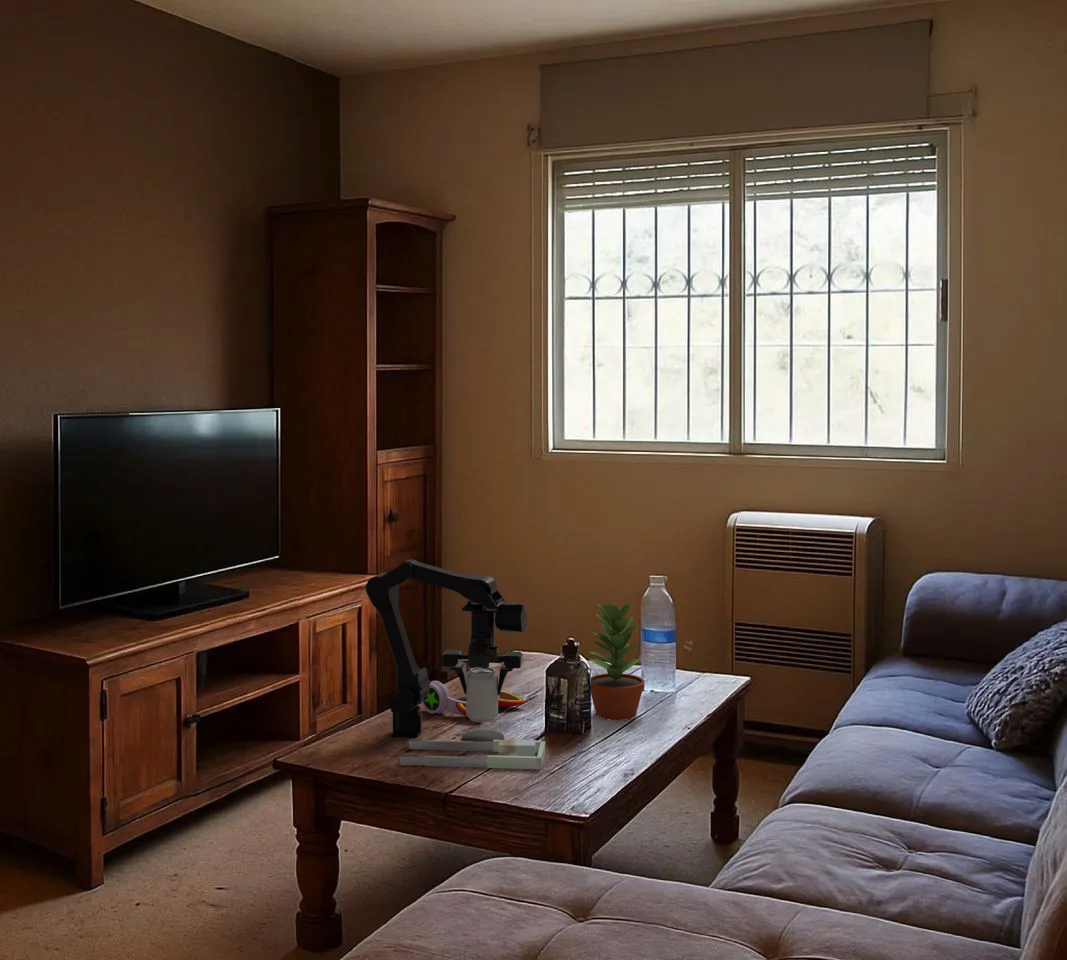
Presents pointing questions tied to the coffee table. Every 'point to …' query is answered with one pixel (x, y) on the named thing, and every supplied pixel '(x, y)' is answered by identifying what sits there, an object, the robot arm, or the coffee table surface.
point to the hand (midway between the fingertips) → (482, 694)
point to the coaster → (482, 736)
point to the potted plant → (615, 668)
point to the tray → (517, 758)
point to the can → (482, 694)
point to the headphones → (442, 701)
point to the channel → (447, 760)
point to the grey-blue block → (526, 748)
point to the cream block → (508, 748)
